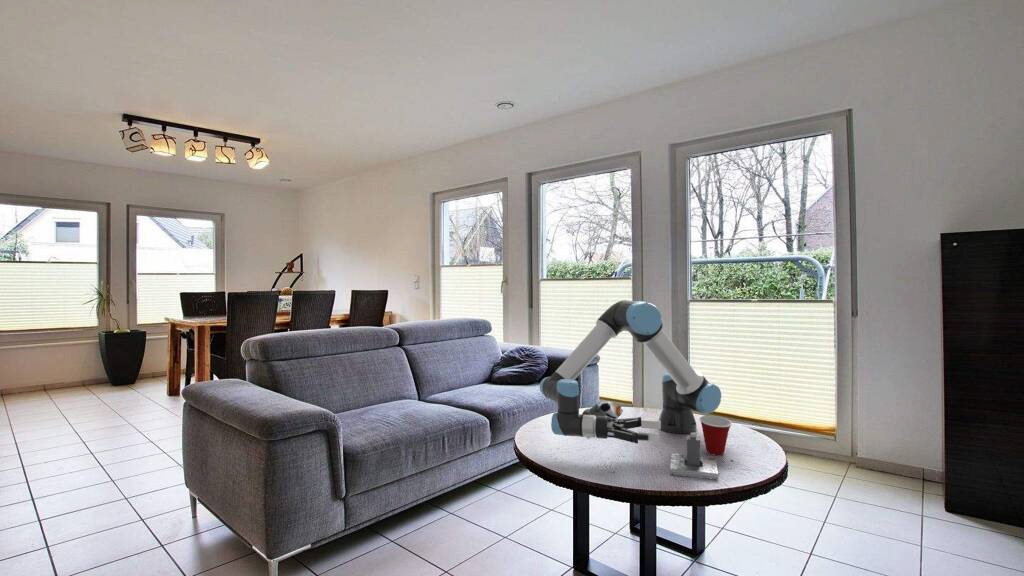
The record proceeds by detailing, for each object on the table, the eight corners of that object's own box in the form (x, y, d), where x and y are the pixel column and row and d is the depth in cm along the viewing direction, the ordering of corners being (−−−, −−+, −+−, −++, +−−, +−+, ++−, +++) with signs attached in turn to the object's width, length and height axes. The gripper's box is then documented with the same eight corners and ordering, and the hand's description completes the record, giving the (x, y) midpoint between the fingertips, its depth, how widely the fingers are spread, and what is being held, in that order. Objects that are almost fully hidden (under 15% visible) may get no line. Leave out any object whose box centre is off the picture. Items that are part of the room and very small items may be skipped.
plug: (686, 465, 168) (686, 431, 168) (699, 466, 167) (699, 432, 166) (686, 469, 164) (686, 434, 164) (700, 471, 163) (700, 435, 163)
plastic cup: (717, 460, 173) (717, 425, 173) (692, 450, 183) (692, 417, 182) (739, 455, 178) (739, 421, 178) (714, 446, 188) (714, 414, 187)
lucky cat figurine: (606, 420, 222) (620, 394, 218) (616, 438, 211) (631, 412, 207) (576, 413, 218) (590, 387, 213) (585, 431, 207) (599, 404, 202)
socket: (671, 459, 174) (671, 452, 174) (715, 464, 170) (715, 456, 170) (670, 474, 161) (670, 466, 161) (718, 479, 156) (718, 471, 156)
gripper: (601, 426, 187) (661, 430, 180) (590, 449, 163) (658, 455, 157) (601, 406, 187) (661, 409, 180) (589, 426, 163) (658, 431, 156)
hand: (660, 431), depth 168 cm, fingers open, 13 cm apart
